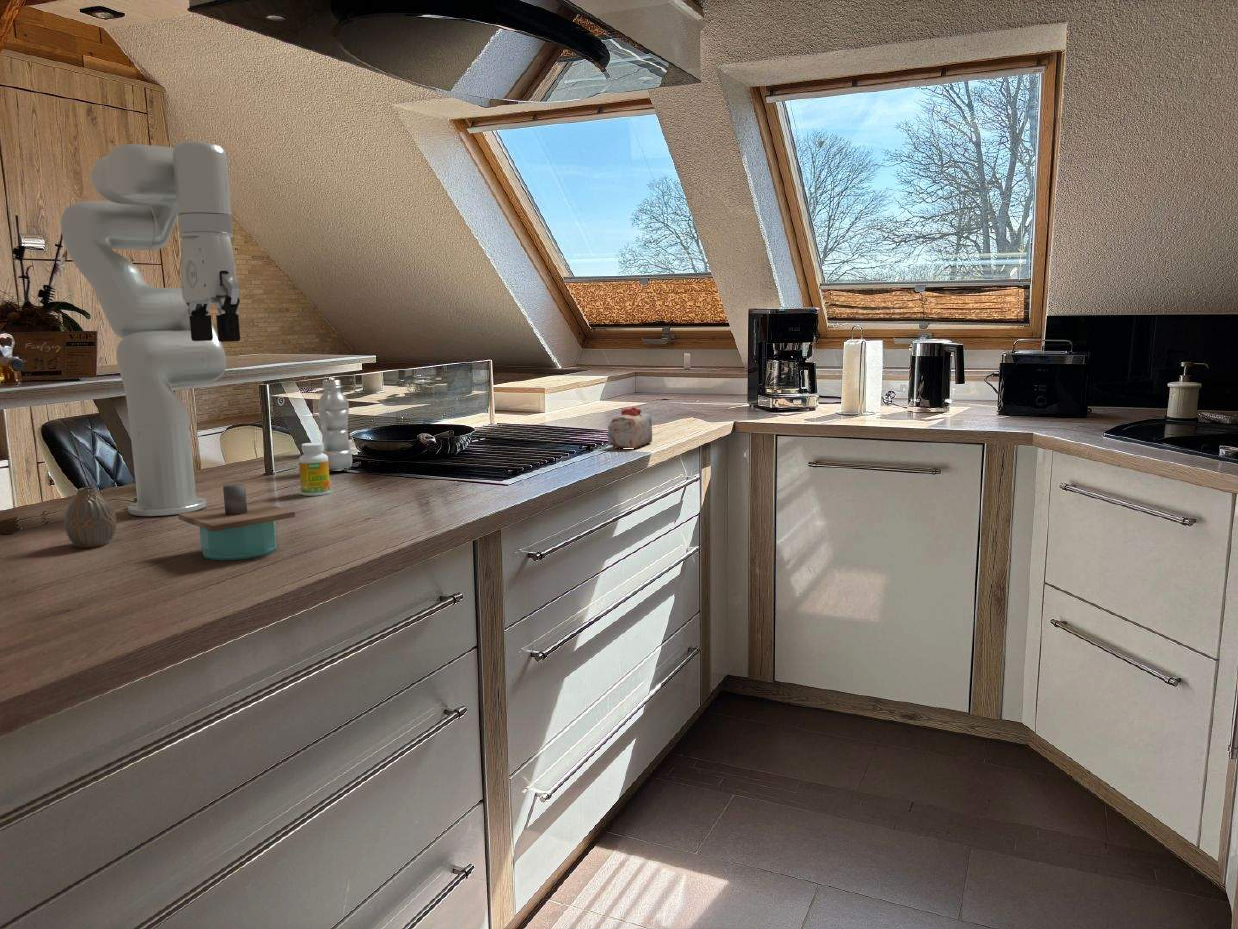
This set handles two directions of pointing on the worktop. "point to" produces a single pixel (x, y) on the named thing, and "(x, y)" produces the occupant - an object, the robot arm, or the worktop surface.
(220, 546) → the bowl
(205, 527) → the lid
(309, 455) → the supplement bottle
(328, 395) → the plastic bottle
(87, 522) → the vase
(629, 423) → the food item
